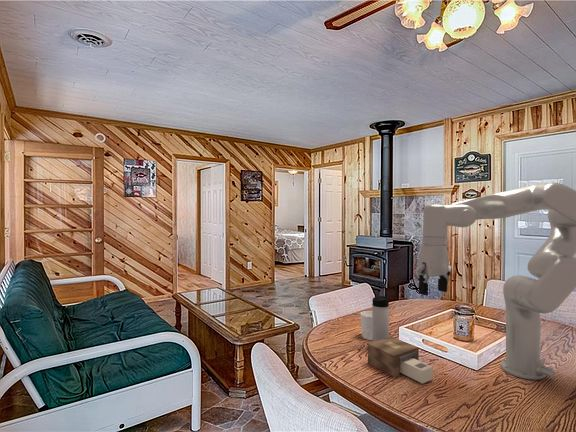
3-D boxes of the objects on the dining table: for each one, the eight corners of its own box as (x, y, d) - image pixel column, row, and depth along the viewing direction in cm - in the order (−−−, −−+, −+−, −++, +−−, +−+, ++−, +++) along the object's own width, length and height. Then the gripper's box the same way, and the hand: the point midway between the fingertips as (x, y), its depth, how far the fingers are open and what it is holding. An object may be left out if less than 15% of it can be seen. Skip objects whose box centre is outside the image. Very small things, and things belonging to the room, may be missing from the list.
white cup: (359, 339, 144) (358, 315, 144) (362, 332, 151) (362, 310, 151) (378, 341, 141) (378, 317, 141) (380, 335, 148) (380, 312, 148)
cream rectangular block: (432, 379, 110) (432, 366, 110) (422, 383, 107) (422, 370, 107) (397, 362, 122) (397, 350, 121) (387, 366, 119) (387, 354, 119)
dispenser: (420, 368, 118) (420, 347, 117) (396, 378, 111) (395, 356, 111) (391, 355, 129) (391, 336, 128) (367, 363, 122) (367, 343, 122)
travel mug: (390, 351, 132) (390, 299, 131) (372, 350, 133) (372, 298, 133) (389, 344, 138) (389, 295, 137) (372, 343, 139) (372, 294, 139)
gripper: (441, 239, 122) (439, 287, 123) (407, 241, 114) (406, 293, 114) (461, 241, 116) (459, 292, 116) (427, 243, 107) (425, 298, 108)
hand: (433, 292), depth 115 cm, fingers open, 9 cm apart
